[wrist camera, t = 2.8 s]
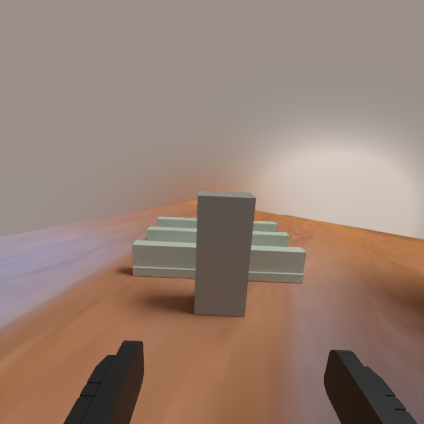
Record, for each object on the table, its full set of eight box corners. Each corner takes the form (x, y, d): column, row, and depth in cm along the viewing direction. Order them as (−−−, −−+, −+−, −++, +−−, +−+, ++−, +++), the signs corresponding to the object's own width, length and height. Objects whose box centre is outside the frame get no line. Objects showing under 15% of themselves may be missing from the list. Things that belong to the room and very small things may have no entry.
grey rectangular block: (240, 297, 24) (249, 192, 21) (244, 316, 21) (255, 198, 18) (196, 295, 24) (199, 190, 21) (194, 314, 21) (197, 195, 18)
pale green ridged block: (272, 242, 41) (275, 221, 40) (302, 283, 27) (307, 253, 26) (159, 237, 41) (159, 216, 40) (132, 275, 27) (131, 245, 26)
